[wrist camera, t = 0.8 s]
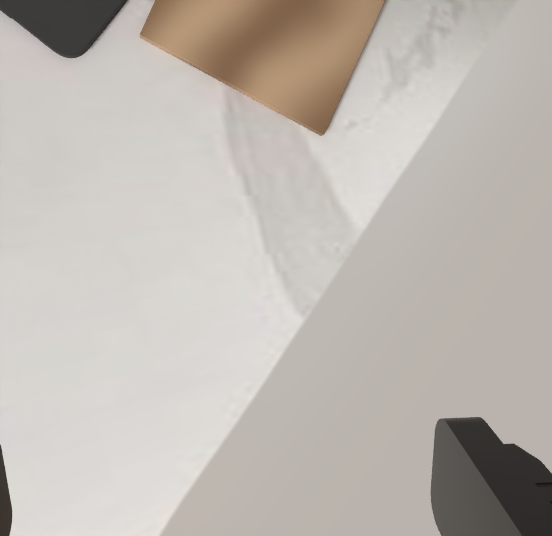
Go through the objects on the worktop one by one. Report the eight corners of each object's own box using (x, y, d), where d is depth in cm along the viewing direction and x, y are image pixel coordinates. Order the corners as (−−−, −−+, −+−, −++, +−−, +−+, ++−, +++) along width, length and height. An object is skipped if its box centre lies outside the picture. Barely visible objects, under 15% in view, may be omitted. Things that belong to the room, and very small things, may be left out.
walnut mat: (140, 37, 30) (140, 34, 29) (212, -123, 30) (214, -130, 29) (321, 135, 33) (324, 134, 32) (386, -9, 33) (390, -13, 32)
